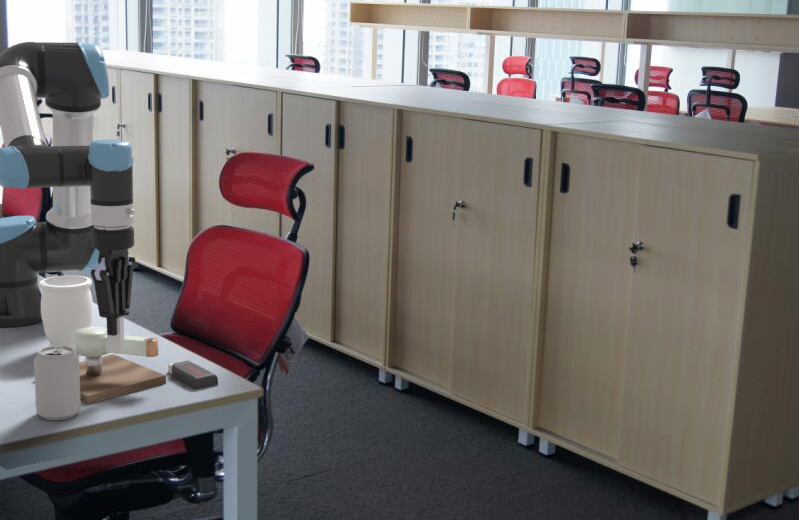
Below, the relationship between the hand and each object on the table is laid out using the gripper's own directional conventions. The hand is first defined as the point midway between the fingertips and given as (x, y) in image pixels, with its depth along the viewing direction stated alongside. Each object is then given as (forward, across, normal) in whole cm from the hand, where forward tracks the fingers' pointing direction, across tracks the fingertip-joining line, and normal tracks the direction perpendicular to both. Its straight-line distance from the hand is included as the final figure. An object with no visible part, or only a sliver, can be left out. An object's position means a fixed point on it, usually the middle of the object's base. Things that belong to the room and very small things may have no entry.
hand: (115, 350), depth 196 cm
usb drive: (+9, +11, -10) cm, 17 cm away
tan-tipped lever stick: (+2, +4, +2) cm, 5 cm away
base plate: (+8, +5, +6) cm, 11 cm away
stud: (+7, +4, +7) cm, 11 cm away
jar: (+9, +21, +22) cm, 31 cm away
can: (+9, -13, +4) cm, 16 cm away
